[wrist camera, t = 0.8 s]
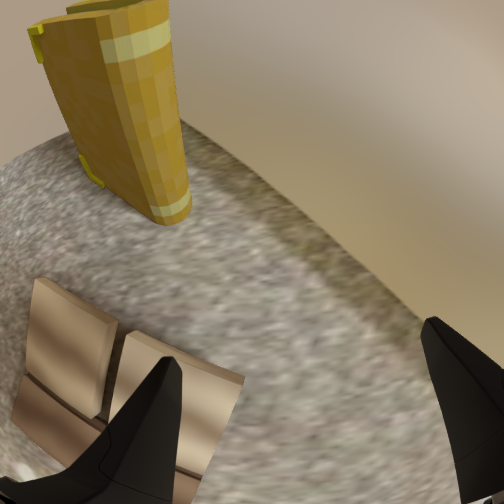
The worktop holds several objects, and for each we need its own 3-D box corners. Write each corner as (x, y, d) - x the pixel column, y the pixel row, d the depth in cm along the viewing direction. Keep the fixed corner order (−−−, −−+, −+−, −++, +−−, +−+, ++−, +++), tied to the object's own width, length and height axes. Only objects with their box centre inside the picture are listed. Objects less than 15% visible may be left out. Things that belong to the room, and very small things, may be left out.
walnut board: (182, 520, 18) (179, 527, 16) (20, 419, 20) (10, 419, 18) (205, 469, 21) (203, 474, 19) (35, 370, 23) (25, 368, 21)
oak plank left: (100, 411, 23) (90, 419, 21) (36, 364, 23) (25, 368, 21) (118, 320, 23) (107, 324, 21) (47, 277, 24) (35, 278, 22)
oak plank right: (207, 463, 21) (203, 475, 19) (116, 421, 22) (107, 429, 20) (245, 376, 22) (242, 385, 20) (137, 329, 23) (126, 334, 21)
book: (89, 178, 35) (26, 28, 13) (121, 149, 38) (80, 1, 16) (167, 236, 32) (107, 19, 10) (203, 198, 35) (189, -9, 12)
